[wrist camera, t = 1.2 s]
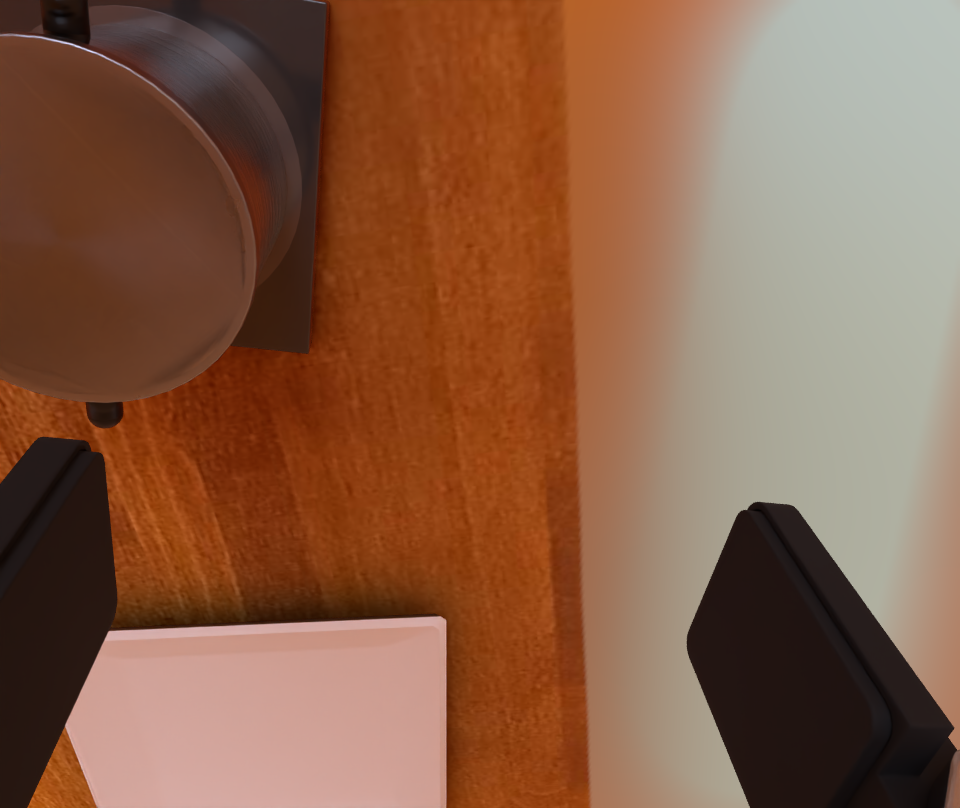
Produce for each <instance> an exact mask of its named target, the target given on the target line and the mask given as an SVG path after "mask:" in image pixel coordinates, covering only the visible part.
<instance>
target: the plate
mask: <svg viewBox="0 0 960 808" xmlns="http://www.w3.org/2000/svg"><path fill="white" fill-rule="evenodd" d="M65 727H66V730H67V733H68V735H69V738H70V740H71V743H72V745H73V748H74V750H75V753H76V755H77V758H78V760H79V763H80V766H81V768H82V771H83V773H84V776H85V778H86V781H87V783H88V786H89V788H90V791H91V793H92V796H93V799H94V801H95V804H96V806H97V808H446V620H445V619H444V618H442V617H441V616H439V615H437V614H416V615H393V616H371V617H348V618H325V619H303V620H280V621H258V622H235V623H212V624H190V625H167V626H145V627H122V628H110V629H109V631H108V634H107V636H106V638H105V640H104V642H103V644H102V647H101V649H100V651H99V653H98V655H97V657H96V660H95V662H94V664H93V666H92V668H91V670H90V673H89V675H88V677H87V679H86V681H85V683H84V686H83V688H82V690H81V692H80V694H79V696H78V699H77V701H76V703H75V705H74V707H73V709H72V712H71V714H70V716H69V718H68V720H67V722H66V725H65Z"/></svg>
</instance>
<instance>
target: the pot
mask: <svg viewBox="0 0 960 808" xmlns="http://www.w3.org/2000/svg"><path fill="white" fill-rule="evenodd" d="M40 8H41V16H42V25H43V31H44V34H40V33H29V32H1V33H0V379H2V380H4V381H6V382H9V383H11V384H13V385H16V386H19V387H21V388H24V389H27V390H30V391H33V392H36V393H39V394H43V395H48V396H52V397H56V398H60V399H66V400H73V401H80V402H86V409H87V416H88V419H89V420H90V422H91V423H92V424H93V425H95V426H97V427H100V428H111V427H113V426H115V425H117V424H118V423H119V422H120V421H121V419H122V417H123V402H124V401H132V400H137V399H142V398H148V397H151V396H154V395H158V394H161V393H164V392H167V391H170V390H172V389H174V388H176V387H178V386H181V385H183V384H185V383H187V382H189V381H190V380H192V379H193V378H195V377H196V376H198V375H199V374H201V373H202V372H204V371H205V370H207V369H208V368H209V367H210V366H211V365H212V364H213V363H214V362H216V361H217V360H218V359H219V358H220V357H221V356H222V354H223V353H224V352H225V351H226V350H227V348H228V347H229V346H230V345H231V344H232V342H233V341H234V339H235V337H236V336H237V334H238V332H239V331H240V329H241V327H242V326H243V324H244V321H245V319H246V317H247V314H248V312H249V309H250V307H251V305H252V302H253V298H254V294H255V290H256V286H257V282H258V276H259V274H260V272H261V270H262V268H263V266H264V264H265V262H266V260H267V258H268V256H269V254H270V252H271V250H272V248H273V246H274V244H275V242H276V239H277V237H278V234H279V232H280V230H281V227H282V223H283V218H284V214H285V208H286V198H287V186H286V173H285V167H284V161H283V157H282V154H281V150H280V147H279V143H278V140H277V138H276V136H275V134H274V131H273V129H272V127H271V124H270V122H269V121H268V119H267V117H266V115H265V114H264V112H263V110H262V109H261V107H260V105H259V104H258V103H257V101H256V100H255V99H254V97H253V96H252V94H251V93H250V92H249V90H248V89H247V88H246V87H245V86H244V85H243V84H242V83H241V82H240V81H239V80H238V78H237V77H236V76H235V75H234V74H233V73H232V72H230V71H229V70H228V69H227V68H226V67H225V66H223V65H222V64H221V63H220V62H219V61H218V60H216V59H215V58H213V57H212V56H210V55H209V54H207V53H206V52H204V51H203V50H201V49H200V48H198V47H196V46H194V45H192V44H190V43H188V42H187V41H185V40H183V39H181V38H178V37H176V36H173V35H170V34H167V33H165V32H162V31H159V30H155V29H150V28H146V27H142V26H135V25H124V24H107V25H95V26H90V20H89V9H88V0H40Z"/></svg>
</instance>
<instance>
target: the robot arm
mask: <svg viewBox="0 0 960 808" xmlns="http://www.w3.org/2000/svg"><path fill="white" fill-rule="evenodd" d="M116 607H117V588H116V577H115V567H114V556H113V546H112V535H111V524H110V514H109V503H108V493H107V482H106V472H105V462H104V457H103V455H102V454H101V453H99V452H91V448H90V445H89V443H88V442H86V441H84V440H73V439H62V438H51V437H40V438H38V439H37V440H36V441H35V442H34V443H33V444H32V445H31V446H30V448H29V449H28V450H27V451H26V453H25V454H24V455H23V456H22V458H21V459H20V460H19V461H18V462H17V464H16V465H15V466H14V467H13V469H12V470H11V471H10V472H9V474H8V475H7V476H6V477H5V479H4V480H3V481H2V482H1V484H0V808H27V807H28V805H29V803H30V800H31V798H32V796H33V794H34V792H35V790H36V787H37V785H38V783H39V781H40V779H41V777H42V774H43V772H44V770H45V768H46V766H47V764H48V761H49V759H50V757H51V755H52V753H53V751H54V748H55V746H56V744H57V742H58V740H59V738H60V735H61V733H62V731H63V729H64V727H65V725H66V722H67V720H68V718H69V716H70V714H71V712H72V709H73V707H74V705H75V703H76V701H77V699H78V696H79V694H80V692H81V690H82V688H83V686H84V683H85V681H86V679H87V677H88V675H89V673H90V670H91V668H92V666H93V664H94V662H95V660H96V657H97V655H98V653H99V651H100V649H101V647H102V644H103V642H104V640H105V638H106V636H107V634H108V631H109V629H110V627H111V625H112V622H113V620H114V616H115V613H116ZM687 651H688V655H689V658H690V660H691V663H692V666H693V668H694V671H695V673H696V675H697V678H698V680H699V683H700V685H701V688H702V690H703V693H704V695H705V698H706V700H707V703H708V705H709V708H710V710H711V712H712V715H713V717H714V720H715V722H716V725H717V727H718V730H719V732H720V735H721V737H722V740H723V742H724V745H725V747H726V749H727V752H728V754H729V757H730V759H731V762H732V764H733V767H734V769H735V772H736V774H737V776H738V779H739V782H740V784H741V786H742V789H743V791H744V794H745V796H746V799H747V801H748V804H749V806H750V808H960V750H958V751H957V749H956V748H955V746H954V745H953V744H952V742H951V741H950V739H949V738H948V736H949V735H950V734H951V732H952V731H953V730H954V727H953V725H952V724H951V723H950V721H949V720H948V718H947V717H946V716H945V714H944V713H943V711H942V710H941V709H940V707H939V706H938V704H937V703H936V702H935V700H934V699H933V697H932V696H931V695H930V693H929V692H928V691H927V689H926V688H925V686H924V685H923V684H922V682H921V681H920V679H919V678H918V677H917V676H916V674H915V673H914V671H913V670H912V668H911V667H910V666H909V664H908V663H907V662H906V660H905V659H904V657H903V656H902V654H901V653H900V652H899V650H898V649H897V648H896V646H895V645H894V643H893V642H892V640H891V639H890V638H889V636H888V635H887V634H886V632H885V631H884V629H883V628H882V627H881V625H880V624H879V623H878V621H877V620H876V618H875V617H874V615H872V613H871V611H870V610H869V609H868V608H867V606H866V604H865V603H864V602H863V600H862V599H861V597H860V596H859V595H858V593H857V592H856V590H855V589H854V588H853V586H852V585H851V584H850V582H849V581H848V579H847V578H846V577H845V575H844V574H843V572H842V571H841V570H840V568H839V567H838V565H837V564H836V563H835V561H834V560H833V559H832V557H831V556H830V554H829V553H828V552H827V550H826V549H825V547H824V546H823V545H822V543H821V542H820V540H819V539H818V538H817V536H816V535H815V533H814V532H813V531H812V529H811V528H810V526H809V525H808V524H807V522H806V521H805V520H804V518H803V517H802V515H801V514H800V513H799V511H798V510H797V509H796V508H795V507H794V506H791V505H787V504H774V503H764V502H755V503H753V504H752V505H750V506H749V508H748V510H743V511H741V512H740V513H738V515H737V517H736V519H735V522H734V524H733V526H732V529H731V531H730V533H729V536H728V539H727V541H726V543H725V545H724V548H723V550H722V553H721V555H720V557H719V560H718V562H717V564H716V567H715V570H714V572H713V574H712V576H711V579H710V581H709V584H708V586H707V588H706V591H705V593H704V595H703V598H702V600H701V603H700V605H699V607H698V610H697V612H696V614H695V617H694V619H693V622H692V624H691V626H690V629H689V632H688V635H687Z"/></svg>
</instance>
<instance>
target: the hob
mask: <svg viewBox="0 0 960 808" xmlns="http://www.w3.org/2000/svg"><path fill="white" fill-rule="evenodd" d="M88 9H89V20H90V26H95V25H107V24H124V25H135V26H142V27H146V28H150V29H155V30H159V31H162V32H165V33H167V34H170V35H173V36H176V37H178V38H181V39H183V40H185V41H187V42H188V43H190V44H192V45H194V46H196V47H198V48H200V49H201V50H203V51H204V52H206V53H207V54H209V55H210V56H212V57H213V58H215V59H216V60H218V61H219V62H220V63H221V64H222V65H223V66H225V67H226V68H227V69H228V70H229V71H230V72H232V73H233V74H234V75H235V76H236V77H237V78H238V80H239V81H240V82H241V83H242V84H243V85H244V86H245V87H246V88H247V89H248V90H249V92H250V93H251V94H252V96H253V97H254V99H255V100H256V101H257V103H258V104H259V105H260V107H261V109H262V110H263V112H264V114H265V115H266V117H267V119H268V121H269V122H270V124H271V127H272V129H273V131H274V134H275V136H276V138H277V140H278V143H279V147H280V150H281V154H282V157H283V161H284V167H285V173H286V186H287V198H286V208H285V214H284V218H283V223H282V227H281V230H280V232H279V234H278V237H277V239H276V242H275V244H274V246H273V248H272V250H271V252H270V254H269V256H268V258H267V260H266V262H265V264H264V266H263V268H262V270H261V272H260V274H259V276H258V282H257V286H256V290H255V294H254V298H253V302H252V305H251V307H250V309H249V312H248V314H247V317H246V319H245V321H244V324H243V326H242V327H241V329H240V331H239V332H238V334H237V336H236V337H235V339H234V341H233V342H232V344H231V345H230V346H239V347H249V348H258V349H268V350H278V351H287V352H297V353H306V354H308V353H309V351H310V347H311V343H312V328H313V309H314V290H315V272H316V253H317V234H318V216H319V197H320V178H321V160H322V141H323V123H324V104H325V85H326V67H327V48H328V29H329V11H330V2H329V1H326V0H88ZM1 32H29V33H40V34H44V31H43V25H42V16H41V8H40V0H0V33H1Z"/></svg>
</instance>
